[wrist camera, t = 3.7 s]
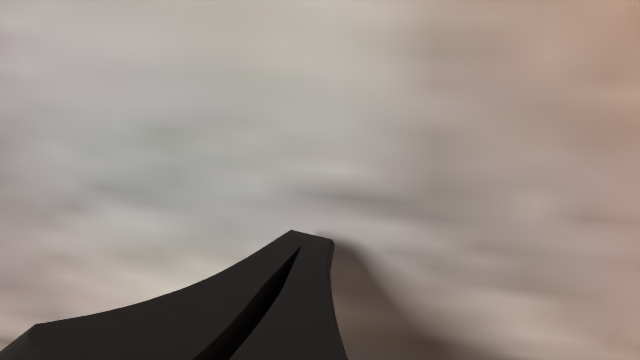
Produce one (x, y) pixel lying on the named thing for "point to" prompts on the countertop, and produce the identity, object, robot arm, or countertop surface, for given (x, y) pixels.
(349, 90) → the countertop surface
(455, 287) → the countertop surface
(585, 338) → the countertop surface
